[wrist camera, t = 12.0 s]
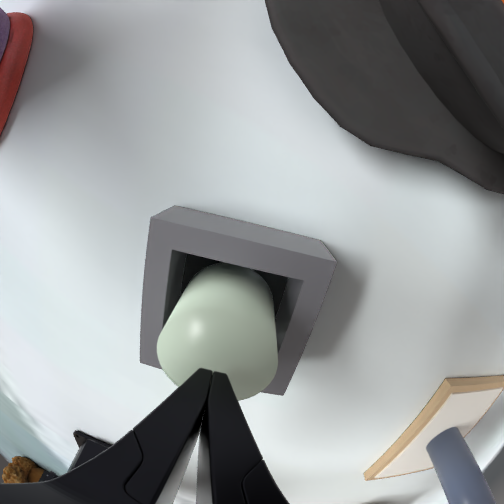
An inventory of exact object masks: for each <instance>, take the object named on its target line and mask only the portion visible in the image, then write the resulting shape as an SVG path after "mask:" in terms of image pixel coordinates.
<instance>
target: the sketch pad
mask: <svg viewBox="0 0 504 504" xmlns="http://www.w3.org/2000/svg"><path fill="white" fill-rule="evenodd" d="M503 389H504V375H500V376H488V377H472V378H445V380H444V381H443V383H442V384H441V386H440V387H439V389H438V390H437V391H436V393H435V394H434V396H433V397H432V398H431V400H430V401H429V402H428V404H427V405H426V406H425V407H424V409H423V410H422V411H421V413H420V414H419V415H418V416H417V418H416V419H415V420H414V421H413V422H412V424H411V425H410V426H409V427H408V428H407V429H406V431H405V432H404V433H403V434H402V435H401V436H400V437H399V439H398V440H397V441H396V442H395V443H394V444H393V445H392V446H391V447H390V448H389V449H388V450H387V451H386V452H385V453H384V454H383V455H382V456H381V457H380V458H379V459H378V460H377V461H376V462H375V463H374V464H373V465H372V466H371V467H370V468H369V469H368V470H367V471H366V472H365V473H364V477H365V481H367V480H375V479H382V478H389V477H395V476H400V475H405V474H410V473H415V472H419V471H424V470H428V469H432V468H434V466H433V463H432V461H431V459H430V457H429V454H428V452H427V450H426V446H427V445H428V443H429V442H430V441H431V440H432V439H433V438H434V437H435V436H437V435H438V434H440V433H441V432H443V431H444V430H446V429H449V428H451V427H457V428H458V429H459V431H460V433H461V435H462V436H463V438H464V437H465V436H466V435H467V434H468V433H469V432H470V431H471V430H472V429H473V427H474V426H475V425H476V424H477V423H478V422H479V420H480V419H481V418H482V417H483V416H484V414H485V413H486V412H487V411H488V409H489V408H490V407H491V406H492V404H493V403H494V402H495V400H496V399H497V398H498V396H499V395H500V394H501V392H502V391H503Z"/></svg>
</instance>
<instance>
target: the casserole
mask: <svg viewBox="0 0 504 504" xmlns="http://www.w3.org/2000/svg"><path fill="white" fill-rule="evenodd" d="M265 3H266V7H267V11H268V15H269V19H270V23H271V27H272V29H273V31H274V33H275V35H276V37H277V39H278V41H279V43H280V45H281V47H282V49H283V51H284V53H285V55H286V57H287V59H288V61H289V63H290V65H291V66H292V67H293V69H294V70H295V72H296V73H297V74H298V76H299V77H300V79H301V80H302V82H303V83H304V84H305V86H306V87H307V89H308V90H309V92H310V93H311V95H312V96H313V98H314V99H315V100H316V101H317V102H318V103H319V104H320V105H321V106H322V107H323V108H324V109H325V110H326V111H327V113H328V114H329V115H330V116H331V117H332V118H333V119H334V120H335V121H336V122H337V124H338V125H339V126H340V127H342V128H343V129H345V130H347V131H348V132H350V133H351V134H353V135H355V136H356V137H358V138H359V139H361V140H362V141H364V142H365V143H367V144H369V145H370V146H373V147H378V148H382V149H386V150H390V151H395V152H399V153H402V154H407V155H412V156H416V157H421V158H426V159H430V160H435V161H439V162H440V163H442V164H444V165H446V166H448V167H450V168H451V169H453V170H455V171H457V172H458V173H460V174H462V175H464V176H465V177H467V178H469V179H470V180H472V181H474V182H475V183H477V184H479V185H480V186H482V187H483V188H485V189H487V190H491V191H494V192H498V193H501V194H504V0H265Z"/></svg>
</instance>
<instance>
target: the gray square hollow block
mask: <svg viewBox="0 0 504 504" xmlns="http://www.w3.org/2000/svg"><path fill="white" fill-rule="evenodd" d="M187 253H188V254H193V255H197V256H201V257H205V258H209V259H213V260H217V261H221V262H226V263H230V264H234V265H238V266H242V267H247V268H251V269H255V270H259V271H264V272H268V273H272V274H277V275H281V276H285V277H288V280H287V283H286V287H285V290H284V293H283V296H282V299H281V302H280V306H279V309H278V312H277V315H276V318H275V327H276V340H277V353H278V367H277V371H276V374H275V376H274V378H273V380H272V381H271V383H270V384H269V385H268V386H267V387H266V388H265V389H264V390H262V391H261V392H263V393H269V394H276V395H282V396H283V395H284V393H285V391H286V389H287V387H288V385H289V382H290V380H291V378H292V376H293V374H294V371H295V369H296V367H297V365H298V362H299V360H300V358H301V355H302V353H303V351H304V348H305V346H306V343H307V341H308V339H309V336H310V334H311V331H312V329H313V326H314V324H315V321H316V319H317V316H318V314H319V311H320V308H321V306H322V303H323V300H324V298H325V295H326V292H327V290H328V287H329V284H330V281H331V278H332V276H333V273H334V270H335V267H336V264H337V261H336V260H335V258H334V257H333V256H332V254H331V253H330V252H329V250H328V249H327V248H326V246H325V245H324V244H323V242H322V241H321V240H317V239H313V238H309V237H305V236H301V235H297V234H293V233H289V232H285V231H281V230H277V229H273V228H269V227H265V226H261V225H257V224H253V223H249V222H245V221H240V220H236V219H232V218H228V217H223V216H219V215H215V214H210V213H206V212H201V211H197V210H193V209H188V208H184V207H179V206H172V207H170V208H168V209H166V210H164V211H163V212H161V213H159V214H157V215H155V216H153V217H151V220H150V227H149V234H148V242H147V251H146V260H145V270H144V281H143V294H142V309H141V331H140V363H143V364H146V365H149V366H153V367H156V368H159V369H162V367H161V365H160V363H159V360H158V355H157V342H158V338H159V335H160V333H161V331H162V330H163V328H164V326H165V324H166V322H167V321H168V319H169V317H170V315H171V313H172V312H173V310H174V308H175V306H176V305H177V303H178V301H179V299H180V294H181V287H182V280H183V274H184V268H185V261H186V255H187ZM162 370H163V369H162Z"/></svg>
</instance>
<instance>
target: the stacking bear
mask: <svg viewBox="0 0 504 504" xmlns="http://www.w3.org/2000/svg"><path fill="white" fill-rule="evenodd" d="M32 37H33V24H32V20H31V18H30V17H29V16H28V15H26V14H24V13H18V12H13V13H7V14H6V13H5V12H4V11H3V10H2V9H1V8H0V135H1V132H2V130H3V128H4V125H5V123H6V120H7V117H8V115H9V112H10V110H11V107H12V104H13V102H14V99H15V96H16V93H17V90H18V87H19V84H20V82H21V78H22V75H23V72H24V69H25V65H26V62H27V59H28V55H29V51H30V47H31V43H32Z"/></svg>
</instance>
